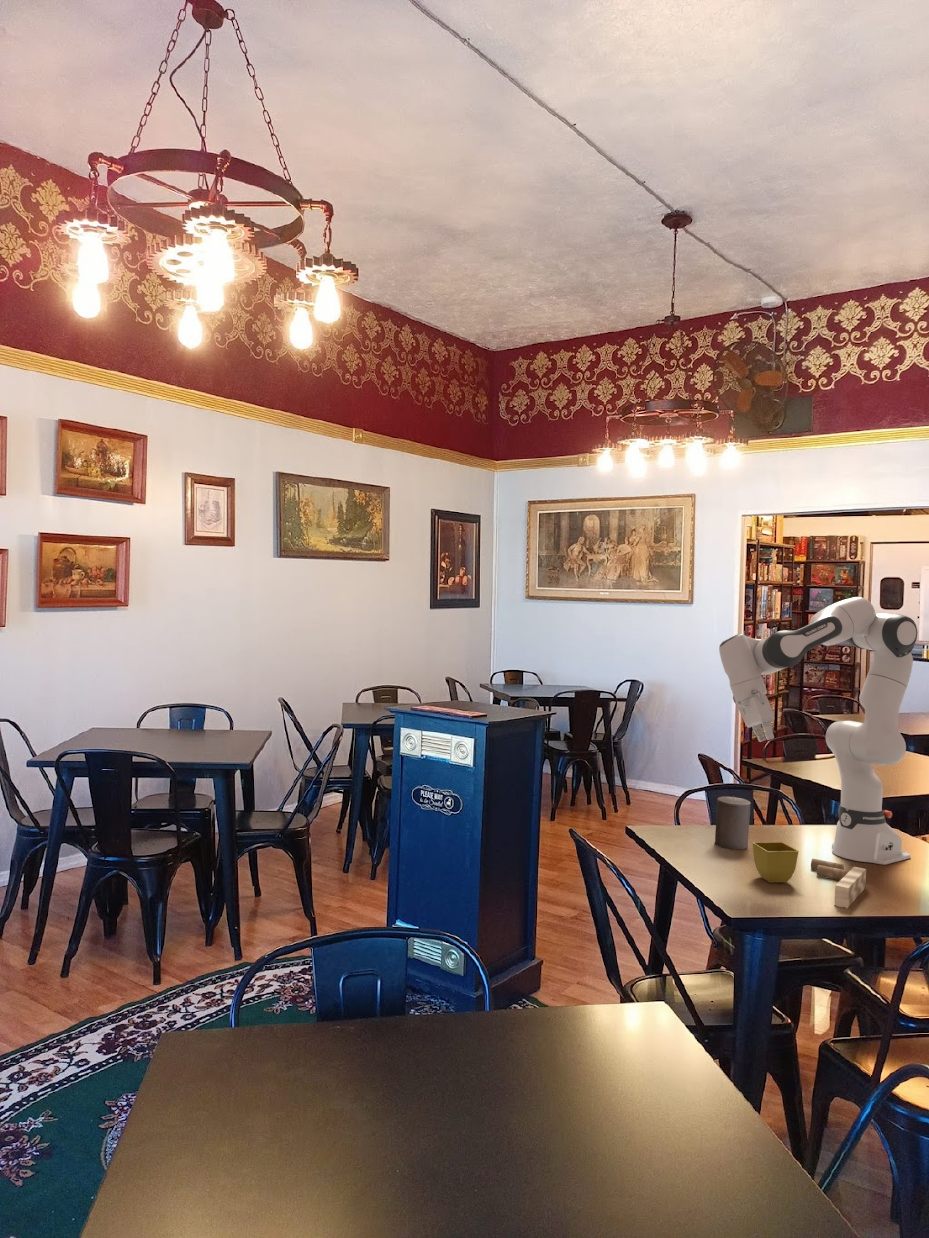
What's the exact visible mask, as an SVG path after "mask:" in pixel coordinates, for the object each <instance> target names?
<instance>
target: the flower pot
mask: <svg viewBox="0 0 929 1238" xmlns="http://www.w3.org/2000/svg"><path fill="white" fill-rule="evenodd" d="M752 853H753V861H754V865H755V868H756V870H757V873H758V874H759V876H760V877H761V878H762V879H763V880H765V881H767V882H768V883H772V884H773V883H788V882H789V881H790V879H791V878H792V876H793V874H794V873H795V872H796V871H795V870H796V867H797V861H798V856H799V850H798V849H796V848H794V847H793V846H790V845H789V844H787V843H785V842H783V841H766V842H765V841H761V842H760V841H758V842H757V841H755V842H753V841H752Z"/></svg>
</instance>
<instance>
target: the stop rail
mask: <svg viewBox="0 0 929 1238" xmlns="http://www.w3.org/2000/svg"><path fill="white" fill-rule="evenodd" d="M848 871H849V872H848V873H847V874H846V875H845V876H844V877H843V878H842V879H841V880H838V882H837V883H836V884H835V885H834V905H836V906H835V907H839V908H843V907H846V908H845V909H848V908H849V907H850V906H851V905H852V904H853V903H854V902H855V901H856V899H857V898H859V896H860V895H861V894H862V893H863V892H864V890H866V881H867V880H866V879H867V868H862V867H858V866H857V867H856V866H853V867H852V868H851V869H850V870H848Z"/></svg>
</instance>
